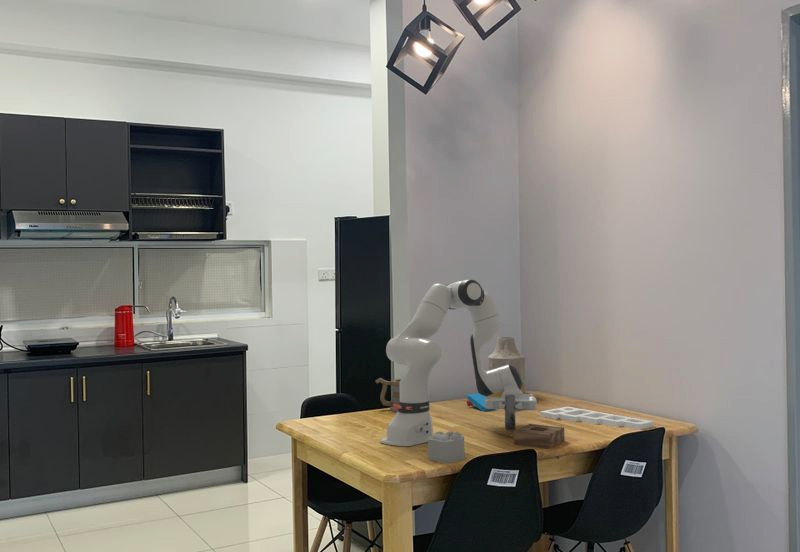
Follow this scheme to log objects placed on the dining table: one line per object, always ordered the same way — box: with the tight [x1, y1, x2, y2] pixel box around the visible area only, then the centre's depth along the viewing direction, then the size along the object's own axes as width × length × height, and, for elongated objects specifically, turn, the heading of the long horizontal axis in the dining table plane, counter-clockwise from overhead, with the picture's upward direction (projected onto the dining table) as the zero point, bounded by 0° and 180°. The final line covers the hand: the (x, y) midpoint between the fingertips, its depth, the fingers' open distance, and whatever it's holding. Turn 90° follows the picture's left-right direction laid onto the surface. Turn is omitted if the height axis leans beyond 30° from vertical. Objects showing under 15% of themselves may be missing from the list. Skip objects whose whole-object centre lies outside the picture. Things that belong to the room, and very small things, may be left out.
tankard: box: [375, 377, 402, 413], centre depth 350 cm, size 20×13×15 cm, turn 74°
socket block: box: [513, 423, 566, 449], centre depth 278 cm, size 14×14×5 cm
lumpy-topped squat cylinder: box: [427, 430, 466, 464], centre depth 258 cm, size 10×13×9 cm
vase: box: [487, 336, 526, 398], centre depth 377 cm, size 18×18×30 cm
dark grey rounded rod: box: [504, 394, 517, 431], centre depth 287 cm, size 4×4×13 cm
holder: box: [539, 406, 654, 431], centre depth 314 cm, size 45×18×3 cm, turn 36°
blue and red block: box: [466, 392, 497, 412], centre depth 351 cm, size 7×7×18 cm
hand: (510, 407), depth 286 cm, fingers closed on dark grey rounded rod, 4 cm apart
